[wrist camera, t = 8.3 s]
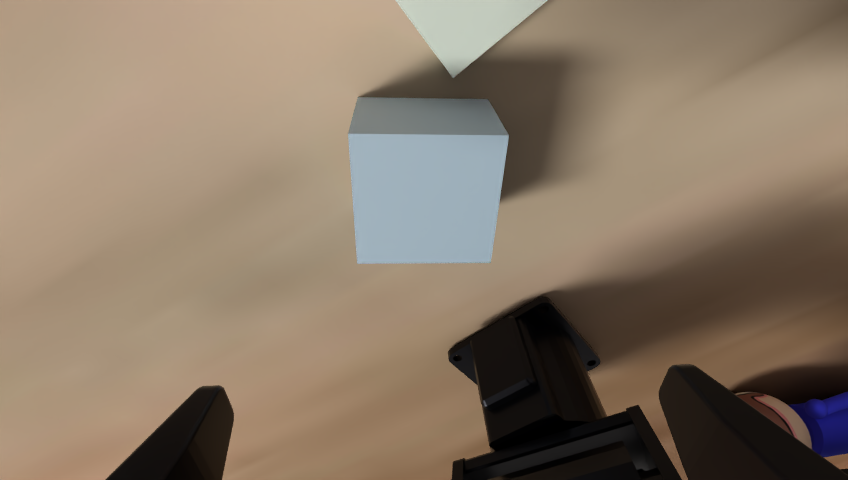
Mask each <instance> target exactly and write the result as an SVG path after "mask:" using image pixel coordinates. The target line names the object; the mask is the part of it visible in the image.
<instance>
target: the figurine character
mask: <svg viewBox="0 0 848 480" xmlns="http://www.w3.org/2000/svg"><path fill="white" fill-rule="evenodd" d="M735 395H737V396H738V397H740V398H741V399H742V400H744V401H745V402H747V403H748V404H749V405H751V406H752V407H753V408H755V409H756V410H758V411H759V412H760V413H762V414H763V415H765V416H766V417H767V418H769V419H770V420H772V421H773V422H774V423H776V424H777V425H779V426H780V427H781V428H783V429H784V430H786V431H787V432H788V433H790V434H791V435H793V436H794V437H795V438H797V439H798V440H799V441H801V442H802V443H804V444H805V445H806V446H808V447H809V448H811V449H812V450H813V451H815V452H816V453H818V454H819V455H820V456H822V457H829V456H835V455H841V454H847V453H848V391H847V392H844V393H841V394H838V395H836V396H833V397H830V398H827V399H824V400H819V399H811V400H808V401H807V402H806V403H799V404H792V405H787V404H785V403H784V402H782V401H780V400H778V399H776V398H774V397H772V396H769V395H766V394H762V393H757V392H741V393H736V394H735ZM840 470H841V471H843V472H844V473H846V474H847V475H848V469H840Z"/></svg>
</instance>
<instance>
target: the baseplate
mask: <svg viewBox="0 0 848 480" xmlns="http://www.w3.org/2000/svg"><path fill="white" fill-rule="evenodd" d="M546 1H547V0H396V2H397V3H398V4H399V6H400V7H401V9H402V10H403V11H404V13H405V14H406V15H407V17H408V18H409V19H410V21H411V22H412V23H413V25H414V26H415V27H416V29H417V30H418V31H419V33H420V34H421V35H422V37H423V38H424V40H425V41H426V42H427V44H428V45H429V46H430V48H431V49H432V50H433V52H434V53H435V54H436V56H437V57H438V58H439V60H440V61H441V62H442V64H443V65H444V66H445V68H446V69H447V71H448V72H449V73H450V75H451V76H452V77H453V78H454V77H455V76H456V75H457V74H459V73H460V72H461V71H462V70H463V69H465V68H466V67H467V66H468V65H470V64H471V63H472V62H473V61H474V60H476V59H477V58H478V57H479V56H481V55H482V54H483V53H484V52H485V51H487V50H488V49H489V48H490V47H491V46H493V45H494V44H495V43H496V42H498V41H499V40H500V39H501V38H502V37H504V36H505V35H506V34H507V33H509V32H510V31H511V30H512V29H513V28H515V27H516V26H517V25H518V24H519V23H521V22H522V21H523V20H524V19H526V18H527V17H528V16H529V15H530V14H532V13H533V12H534V11H535V10H536V9H538V8H539V7H540V6H541V5H543V4H544V3H545V2H546Z"/></svg>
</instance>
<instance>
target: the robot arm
mask: <svg viewBox="0 0 848 480" xmlns="http://www.w3.org/2000/svg"><path fill="white" fill-rule="evenodd" d="M542 306H545V307H543V308H540V307H542ZM456 355H458V356H456ZM448 357H449V361H450V362H451V363H452V364H453V365H454V366H455V367H456V368H458V369H459V370H460V371H461V372H462V373H464V374H465V375H466V376H467V377H468V378H470V379H471V380H472V381H473V382H474V383H476V384H477V385H478V390H479V395H480V401H481V404H482V408H483V414H484V419H485V425H486V430H487V435H488V441H489V446H490V450H491V452H490V453H486V454H483V455H480V456H477V457H473V458H470V459H467V460H465V458H463V459H460V460H456V461H453V470H452V479H451V480H682V479H681V477H680V476H679V474H678V472H677V470H676V469H675V467H674V465H673V464H672V462H671V460H670V458H669V457H668V455H667V453H666V452H665V450H664V448H663V446H662V445H661V443H660V441H659V439H658V438H657V436H656V434H655V433H654V431H653V429H652V427H651V426H650V424H649V422H648V421H647V419H646V417H645V415H644V414H643V412H642V410H641V409H640V407H639V405H636V406H633V407H629V408H626V410H627V411H624V412H621V413H617V414H614V415H611V416H608V417H607V415H606V413H605V411H604V408H603V406H602V404H601V402H600V399H599V397H598V395H597V393H596V390H595V388H594V386H593V384H592V381H591V379H590V377H589V375H588V372H587V371H589V370H591V369H593V368H595V367H597V366H598V365H599V364H600V359H599V357H598V355H597V353H596V352H595V351H594V350H593V349H592V348H591V346H590V345H589V344H588V343H587V342H586V341H585V339H584V338H583V337H582V336H581V335H580V334H579V333H578V331H577V330H576V329H575V328H574V327H573V326H572V325H571V323H570V322H569V321H568V320H567V319H566V318H565V316H564V315H563V314H562V313H561V312H560V311H559V310H558V308H557V307H556V306H555V305H554V304H553V303H552V301H551V300H550V299H548V298H546V297H541V298H538V299H536V300H534V301H532V302H531V303H529V304H527V305H525V306H524V307H522V308H520V309H518V310H517V311H515V312H513V313H512V314H510V315H508V316H506V317H505V318H503V319H501V320H499V321H498V322H496V323H494V324H492V325H491V326H489V327H487V328H486V329H484V330H482V331H480V332H479V333H477V334H475V335H473V336H472V337H470V338H468V339H467V340H465V341H463V342H461V343H460V344H458V345H456V346H454V347H453V348H451V349H450V350H449V351H448ZM659 400H660V404H661V406H662V409H663V412H664V415H665V417H666V420H667V423H668V426H669V429H670V431H671V434H672V437H673V440H674V443H675V445H676V448H677V451H678V454H679V456H680V459H681V462H682V465H683V467H684V470H685V472H686V475H687V477H688V480H848V475H847V474H846V473H844V472H843V471H841V470H840V469H839V468H837V467H836V466H834V465H833V464H832V463H830V462H829V461H827V460H826V459H825V458H823V457H822V456H820V455H819V454H818V453H816V452H815V451H813V450H812V449H811V448H809V447H808V446H806V445H805V444H804V443H802V442H801V441H799V440H798V439H797V438H795V437H794V436H793V435H791V434H790V433H788V432H787V431H786V430H784V429H783V428H781V427H780V426H779V425H777V424H776V423H774V422H773V421H772V420H770V419H769V418H767V417H766V416H765V415H763V414H762V413H760V412H759V411H758V410H756V409H755V408H753V407H752V406H751V405H749V404H748V403H747V402H745V401H744V400H742V399H741V398H740V397H738V396H737V395H735V394H734V393H733V392H731V391H730V390H728V389H727V388H726V387H724V386H723V385H721V384H720V383H719V382H717V381H716V380H714V379H713V378H712V377H710V376H709V375H707V374H706V373H705V372H703V371H702V370H700V369H699V368H698V367H696V366H694V365H691V364H682V365H672V366H671V367H670V368H669V369H668V371H667V374H666V376H665V378H664V380H663V383H662V385H661V387H660V390H659ZM233 421H234V413H233V409H232V406H231V404H230V401H229V399H228V397H227V394H226V392H225V390H224V388H223V387H222V386H203V387H200V388H198V389H197V390H196V391H195V392H194V393H193V394H192V395H191V396H190V397H189V398H188V399H187V400H186V401H185V402H184V403H183V404H182V405H181V406H179V407H178V408H177V409H176V410H175V411H174V412H173V413H172V414H171V415H170V416H169V417H168V418H167V419H166V420H165V421H164V422H163V423H162V424H161V425H160V426H159V427H158V428H157V429H156V430H155V431H154V432H153V433H152V434H151V435H150V436H149V437H148V438H147V439H146V440H145V441H144V442H143V443H142V444H141V445H140V446H139V447H138V448H137V449H136V450H135V451H134V452H133V453H132V454H131V455H130V456H129V457H128V458H127V459H126V460H125V461H124V462H123V463H122V464H121V465H120V466H119V467H118V468H117V469H116V470H115V471H114V472H113V473H112V474H111V475H110V476H109V477H108V478H107V479H106V480H222V476H223V471H224V466H225V461H226V456H227V451H228V446H229V442H230V437H231V432H232V427H233Z"/></svg>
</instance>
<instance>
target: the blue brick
mask: <svg viewBox="0 0 848 480" xmlns="http://www.w3.org/2000/svg"><path fill="white" fill-rule="evenodd" d="M348 138H349V152H350V166H351V181H352V195H353V209H354V224H355V238H356V252H357V264H373V263H491V257H492V250H493V243H494V236H495V229H496V222H497V215H498V208H499V201H500V194H501V187H502V180H503V173H504V167H505V160H506V153H507V146H508V139H509V135H508V133H507V131H506V129H505V128H504V126H503V124H502V123H501V121H500V119H499V117H498V116H497V114H496V112H495V110H494V109H493V107H492V105H491V103H490V102H489V100H488V99H445V98H381V97H358V99H357V102H356V106H355V110H354V114H353V117H352V121H351V125H350V129H349V133H348Z"/></svg>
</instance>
